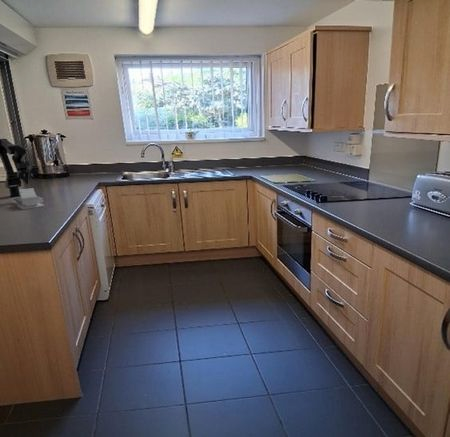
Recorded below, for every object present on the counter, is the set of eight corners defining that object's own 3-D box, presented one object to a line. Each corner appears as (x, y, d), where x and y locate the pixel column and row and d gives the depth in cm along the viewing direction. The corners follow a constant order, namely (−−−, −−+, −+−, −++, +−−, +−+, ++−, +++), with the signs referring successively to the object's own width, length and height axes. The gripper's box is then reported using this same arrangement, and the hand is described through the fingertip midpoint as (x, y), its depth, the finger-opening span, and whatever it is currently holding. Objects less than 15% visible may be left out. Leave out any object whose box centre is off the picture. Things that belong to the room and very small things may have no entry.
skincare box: (33, 187, 225) (37, 196, 214) (34, 196, 227) (38, 205, 216) (17, 189, 220) (21, 198, 209) (19, 198, 223) (23, 207, 212)
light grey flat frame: (10, 201, 234) (9, 197, 233) (33, 197, 243) (32, 194, 242) (18, 206, 218) (18, 202, 217) (43, 202, 227) (42, 198, 226)
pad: (17, 206, 217) (17, 205, 217) (38, 203, 225) (38, 202, 225) (23, 209, 209) (22, 208, 209) (44, 205, 217) (44, 205, 217)
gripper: (3, 159, 221) (12, 181, 219) (35, 154, 232) (44, 175, 231) (2, 167, 230) (11, 189, 228) (33, 162, 241) (42, 183, 239)
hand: (27, 184), depth 231 cm, fingers closed
